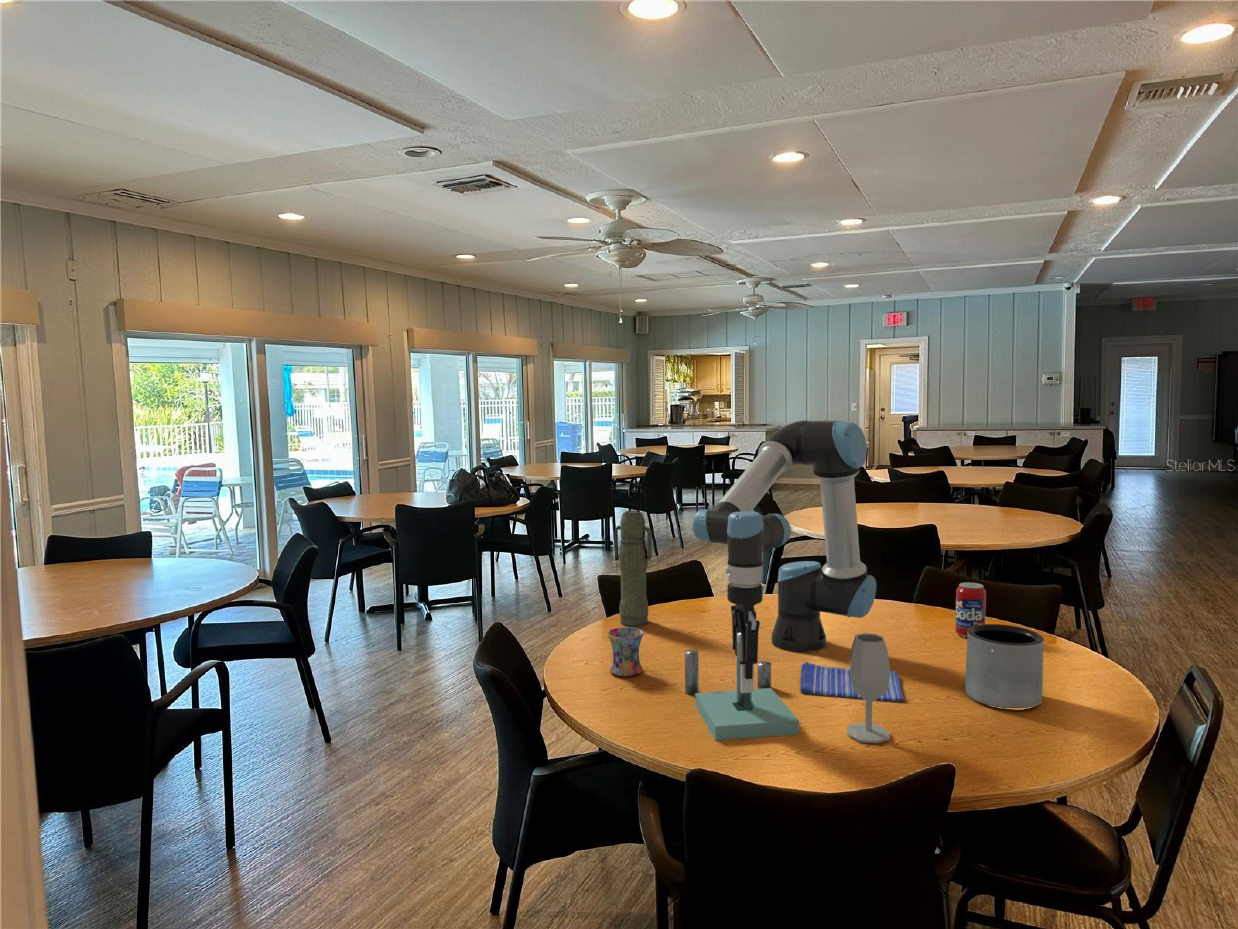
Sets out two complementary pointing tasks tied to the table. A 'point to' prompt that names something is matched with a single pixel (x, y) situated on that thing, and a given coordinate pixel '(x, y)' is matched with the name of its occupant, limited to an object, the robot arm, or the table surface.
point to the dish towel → (841, 683)
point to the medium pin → (691, 672)
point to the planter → (1004, 666)
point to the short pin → (764, 675)
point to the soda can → (969, 607)
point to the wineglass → (869, 683)
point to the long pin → (742, 698)
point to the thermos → (633, 568)
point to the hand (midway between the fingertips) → (744, 688)
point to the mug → (625, 650)
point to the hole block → (746, 715)
